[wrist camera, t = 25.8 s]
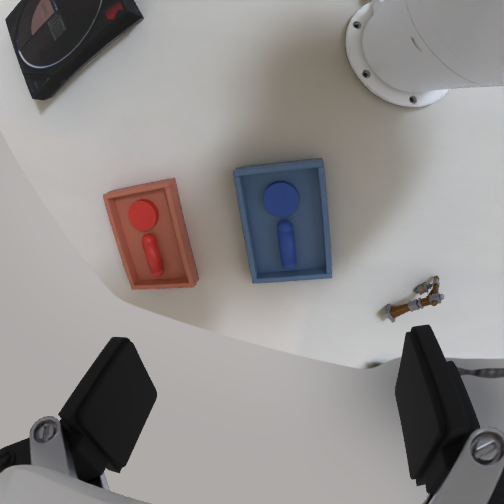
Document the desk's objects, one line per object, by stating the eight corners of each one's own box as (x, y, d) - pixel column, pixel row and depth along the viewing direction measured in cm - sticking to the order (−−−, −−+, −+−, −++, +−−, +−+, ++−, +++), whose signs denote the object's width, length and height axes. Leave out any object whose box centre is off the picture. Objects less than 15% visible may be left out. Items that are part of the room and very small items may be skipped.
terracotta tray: (111, 190, 37) (102, 195, 35) (174, 177, 35) (168, 181, 33) (138, 282, 42) (132, 289, 40) (198, 279, 40) (194, 287, 38)
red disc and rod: (128, 201, 36) (121, 205, 35) (154, 196, 36) (148, 200, 34) (149, 273, 40) (143, 280, 39) (174, 271, 40) (169, 278, 38)
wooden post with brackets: (446, 278, 34) (446, 305, 31) (396, 298, 40) (392, 324, 37) (441, 269, 34) (441, 296, 31) (389, 290, 39) (385, 316, 36)
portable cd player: (20, 24, 27) (2, 22, 23) (102, -53, 22) (87, -62, 18) (49, 99, 32) (29, 101, 29) (144, 18, 27) (127, 10, 23)
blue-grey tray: (236, 167, 33) (232, 171, 32) (321, 158, 32) (323, 160, 30) (254, 275, 39) (252, 283, 37) (330, 269, 37) (332, 278, 35)
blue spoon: (261, 182, 33) (259, 186, 32) (297, 178, 33) (297, 182, 31) (274, 266, 37) (272, 273, 36) (306, 263, 37) (306, 271, 35)
